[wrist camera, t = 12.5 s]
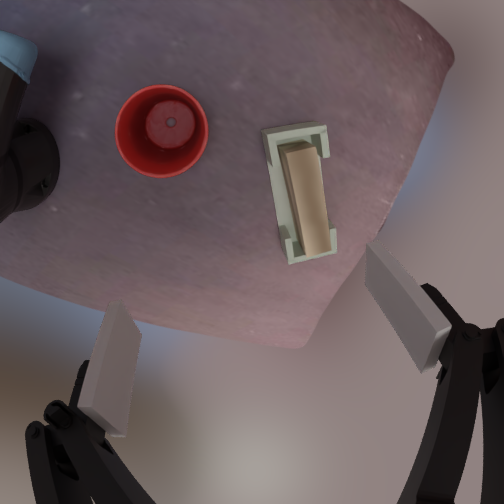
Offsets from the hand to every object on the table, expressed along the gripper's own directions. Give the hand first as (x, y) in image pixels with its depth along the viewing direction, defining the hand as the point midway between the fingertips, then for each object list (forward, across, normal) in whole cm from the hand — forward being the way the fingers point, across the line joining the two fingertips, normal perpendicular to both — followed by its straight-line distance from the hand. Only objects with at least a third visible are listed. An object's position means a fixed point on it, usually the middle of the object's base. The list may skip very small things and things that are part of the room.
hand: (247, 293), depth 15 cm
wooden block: (+30, +10, -8) cm, 33 cm away
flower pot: (+31, -6, +7) cm, 32 cm away
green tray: (+31, +10, -7) cm, 33 cm away
